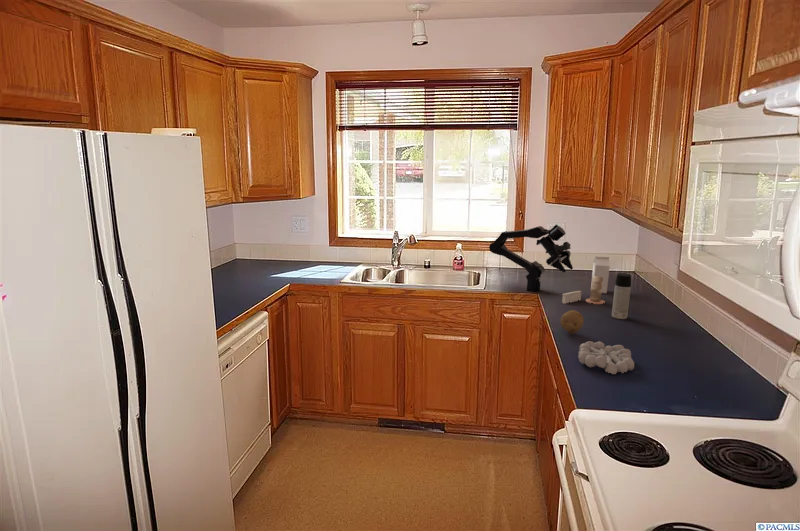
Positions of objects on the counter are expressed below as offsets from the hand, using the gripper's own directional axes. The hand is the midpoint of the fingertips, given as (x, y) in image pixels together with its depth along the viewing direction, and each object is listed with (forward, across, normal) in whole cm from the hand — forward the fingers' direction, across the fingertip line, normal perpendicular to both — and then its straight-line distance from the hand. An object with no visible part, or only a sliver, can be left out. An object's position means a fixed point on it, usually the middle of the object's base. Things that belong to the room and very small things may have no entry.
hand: (568, 270), depth 274 cm
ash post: (+20, -1, -2) cm, 20 cm away
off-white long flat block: (+14, -8, +5) cm, 17 cm away
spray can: (+33, -18, -13) cm, 40 cm away
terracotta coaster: (+20, -1, -1) cm, 20 cm away
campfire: (+42, -77, -22) cm, 90 cm away
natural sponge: (+27, -55, -8) cm, 62 cm away
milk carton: (+16, +21, +3) cm, 27 cm away
